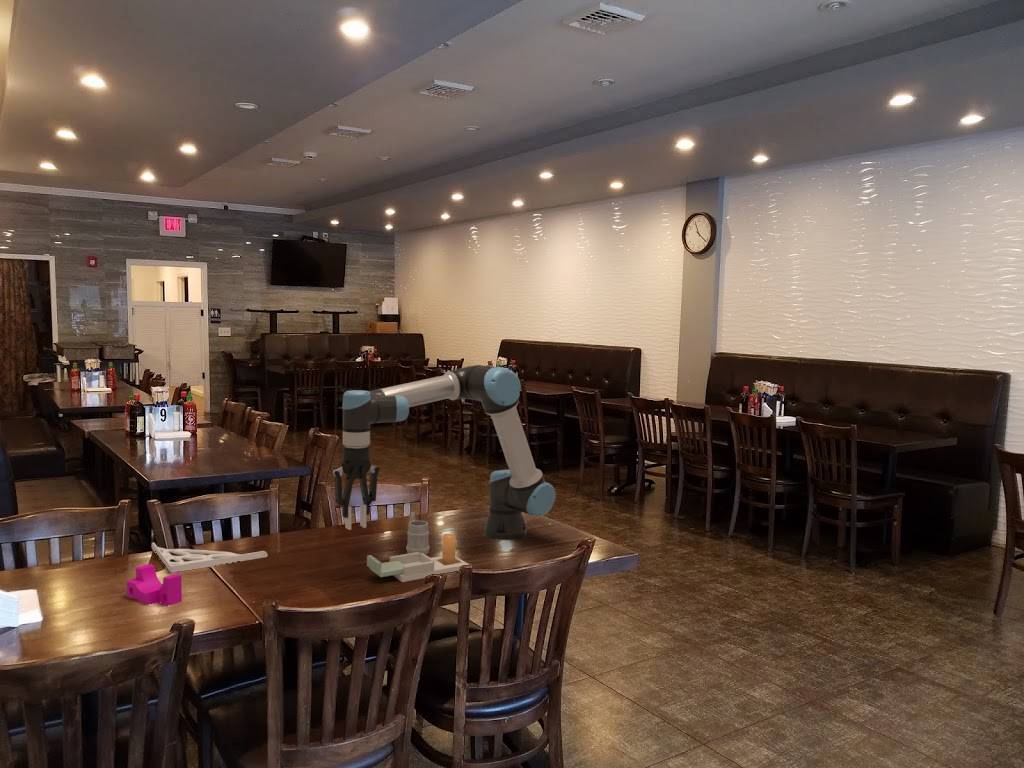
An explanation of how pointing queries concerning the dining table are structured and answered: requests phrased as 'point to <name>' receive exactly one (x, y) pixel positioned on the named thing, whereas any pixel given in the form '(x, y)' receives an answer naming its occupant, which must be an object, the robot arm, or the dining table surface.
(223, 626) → the dining table surface
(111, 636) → the dining table surface
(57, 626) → the dining table surface
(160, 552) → the shelf bracket
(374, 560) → the pale green l-shaped block
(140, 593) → the toy block
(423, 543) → the mug
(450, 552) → the orange cylinder
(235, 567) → the dining table surface
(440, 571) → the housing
